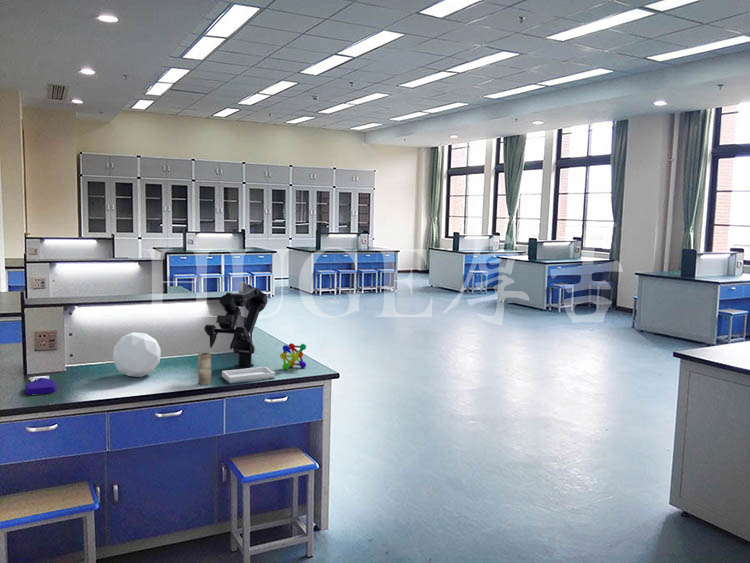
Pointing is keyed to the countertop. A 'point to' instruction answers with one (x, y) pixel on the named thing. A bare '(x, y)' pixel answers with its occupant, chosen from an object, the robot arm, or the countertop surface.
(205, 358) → the maple post
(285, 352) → the molecular model
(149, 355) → the geometric polyhedron
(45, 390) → the spray bottle
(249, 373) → the grey tray
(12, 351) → the countertop surface
